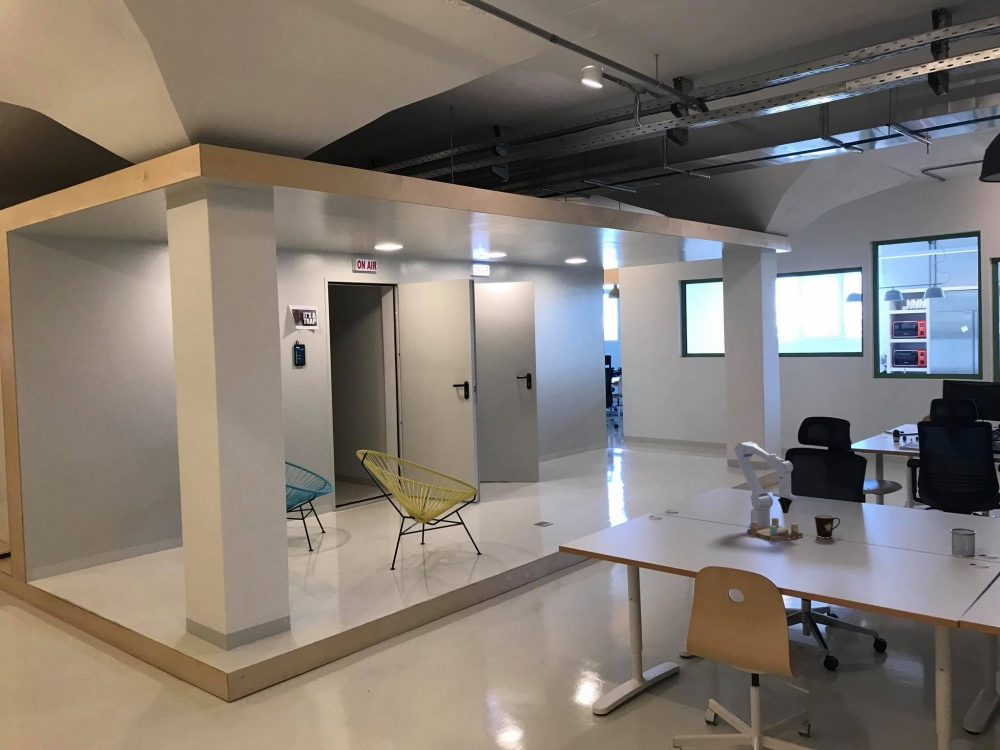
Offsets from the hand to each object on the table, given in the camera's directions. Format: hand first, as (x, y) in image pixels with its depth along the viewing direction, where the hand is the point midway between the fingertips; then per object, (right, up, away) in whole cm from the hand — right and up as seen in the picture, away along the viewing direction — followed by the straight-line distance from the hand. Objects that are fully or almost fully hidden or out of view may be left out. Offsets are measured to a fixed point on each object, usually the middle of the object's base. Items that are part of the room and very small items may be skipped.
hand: (785, 512), depth 379 cm
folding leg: (-7, -8, -12) cm, 16 cm away
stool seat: (-7, -10, -5) cm, 13 cm away
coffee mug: (+16, -10, -11) cm, 22 cm away
